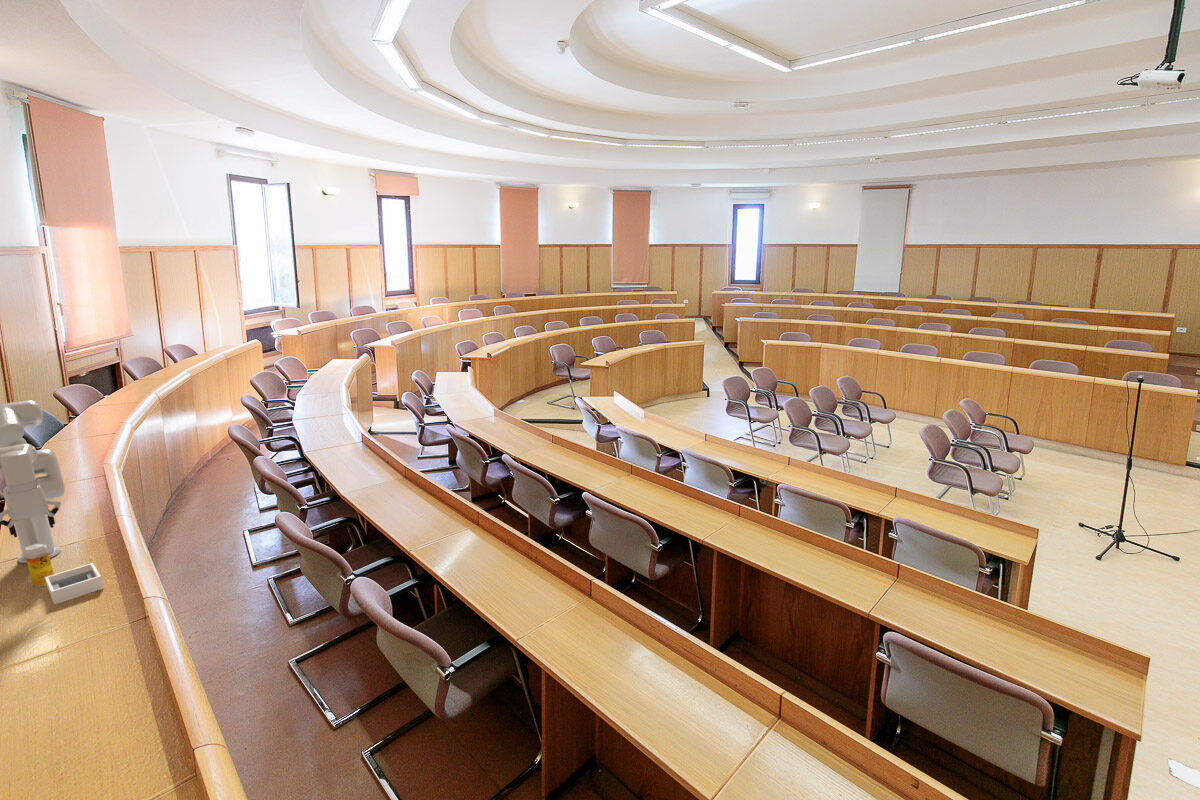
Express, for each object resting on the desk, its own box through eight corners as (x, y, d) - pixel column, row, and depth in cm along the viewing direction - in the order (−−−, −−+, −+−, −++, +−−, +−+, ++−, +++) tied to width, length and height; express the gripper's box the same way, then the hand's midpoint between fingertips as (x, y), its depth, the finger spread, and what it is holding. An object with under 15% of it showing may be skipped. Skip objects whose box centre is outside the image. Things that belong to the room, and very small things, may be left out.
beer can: (42, 588, 222) (32, 551, 218) (28, 586, 223) (18, 549, 219) (59, 579, 228) (50, 543, 224) (46, 578, 229) (37, 541, 225)
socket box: (47, 589, 222) (44, 577, 220) (95, 574, 231) (92, 562, 230) (54, 604, 213) (51, 591, 212) (103, 588, 223) (100, 576, 221)
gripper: (53, 476, 221) (63, 519, 226) (-14, 490, 209) (-2, 536, 213) (57, 482, 216) (67, 526, 221) (-11, 497, 204) (1, 543, 209)
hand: (33, 531), depth 217 cm, fingers open, 9 cm apart
